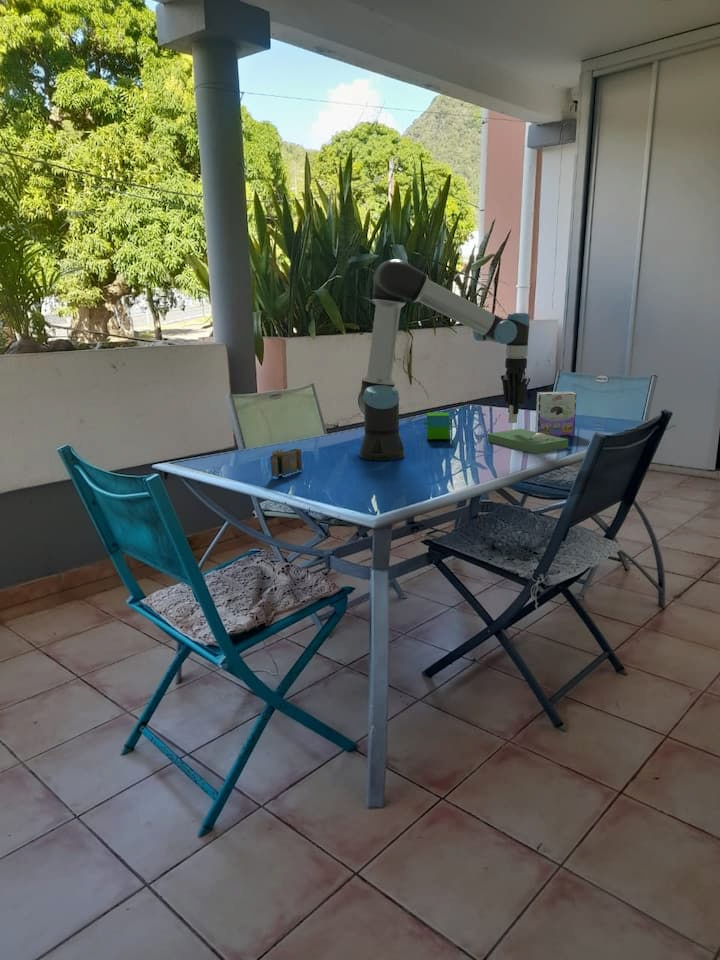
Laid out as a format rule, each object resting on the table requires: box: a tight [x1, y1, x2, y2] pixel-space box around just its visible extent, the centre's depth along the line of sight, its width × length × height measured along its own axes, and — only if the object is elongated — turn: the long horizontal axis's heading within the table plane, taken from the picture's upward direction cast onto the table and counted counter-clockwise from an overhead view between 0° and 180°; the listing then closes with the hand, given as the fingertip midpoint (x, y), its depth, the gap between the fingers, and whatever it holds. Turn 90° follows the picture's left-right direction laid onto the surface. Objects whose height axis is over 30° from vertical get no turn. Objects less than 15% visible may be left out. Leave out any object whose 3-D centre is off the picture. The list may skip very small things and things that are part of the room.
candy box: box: [534, 391, 577, 437], centre depth 252 cm, size 14×6×16 cm, turn 84°
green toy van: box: [424, 412, 452, 442], centre depth 253 cm, size 10×13×10 cm
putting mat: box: [486, 428, 569, 454], centre depth 240 cm, size 16×24×3 cm, turn 30°
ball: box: [532, 433, 547, 441], centre depth 234 cm, size 5×5×5 cm
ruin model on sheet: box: [269, 448, 303, 478], centre depth 205 cm, size 11×3×10 cm, turn 145°
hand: (512, 422), depth 244 cm, fingers closed
